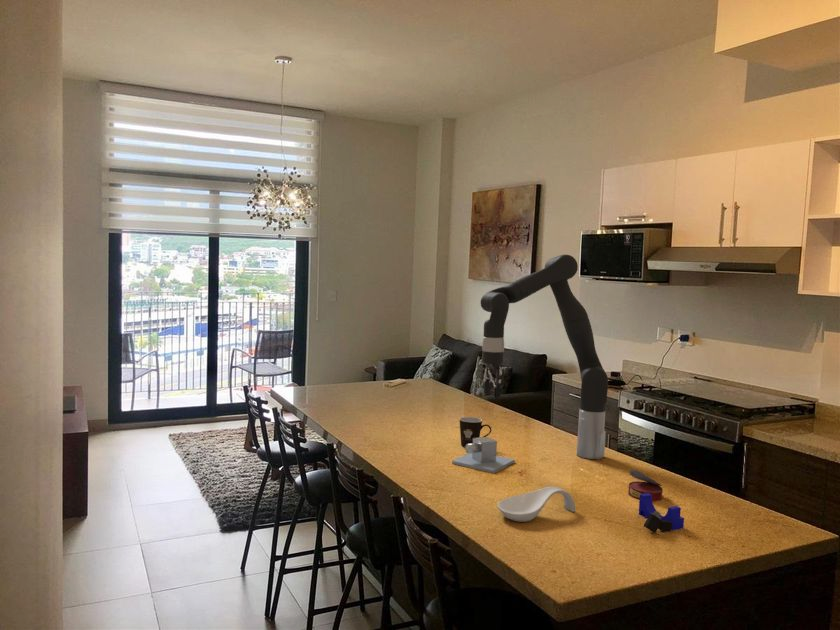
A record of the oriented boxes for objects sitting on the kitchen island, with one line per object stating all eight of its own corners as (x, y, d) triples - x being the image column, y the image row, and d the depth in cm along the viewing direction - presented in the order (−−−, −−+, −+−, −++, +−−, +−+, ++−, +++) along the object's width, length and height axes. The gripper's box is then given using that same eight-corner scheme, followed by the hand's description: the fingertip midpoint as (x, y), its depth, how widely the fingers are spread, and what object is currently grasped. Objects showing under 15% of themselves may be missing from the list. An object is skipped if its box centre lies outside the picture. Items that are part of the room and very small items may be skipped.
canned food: (627, 506, 208) (621, 474, 212) (659, 505, 207) (654, 472, 211) (635, 501, 197) (629, 467, 201) (669, 499, 197) (663, 465, 201)
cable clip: (683, 528, 180) (684, 507, 179) (670, 531, 178) (672, 509, 177) (650, 513, 190) (652, 492, 190) (638, 515, 188) (639, 494, 188)
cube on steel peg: (486, 456, 235) (487, 436, 235) (495, 461, 230) (497, 441, 229) (462, 459, 231) (463, 439, 230) (471, 464, 225) (472, 443, 225)
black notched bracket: (660, 537, 178) (669, 520, 179) (665, 540, 177) (675, 523, 177) (641, 524, 176) (650, 507, 176) (646, 527, 174) (656, 510, 174)
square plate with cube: (514, 462, 234) (515, 446, 233) (493, 473, 220) (494, 456, 220) (474, 453, 242) (475, 438, 242) (452, 463, 229) (452, 447, 228)
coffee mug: (453, 445, 252) (454, 419, 252) (467, 441, 259) (469, 415, 258) (477, 451, 244) (479, 425, 244) (491, 447, 251) (493, 421, 250)
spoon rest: (513, 529, 174) (514, 502, 174) (488, 513, 185) (490, 488, 184) (583, 517, 185) (585, 492, 185) (556, 502, 196) (558, 479, 195)
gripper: (511, 352, 226) (510, 399, 227) (494, 347, 239) (493, 391, 241) (491, 352, 224) (489, 400, 225) (475, 347, 237) (474, 392, 238)
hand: (491, 396), depth 233 cm, fingers open, 8 cm apart
